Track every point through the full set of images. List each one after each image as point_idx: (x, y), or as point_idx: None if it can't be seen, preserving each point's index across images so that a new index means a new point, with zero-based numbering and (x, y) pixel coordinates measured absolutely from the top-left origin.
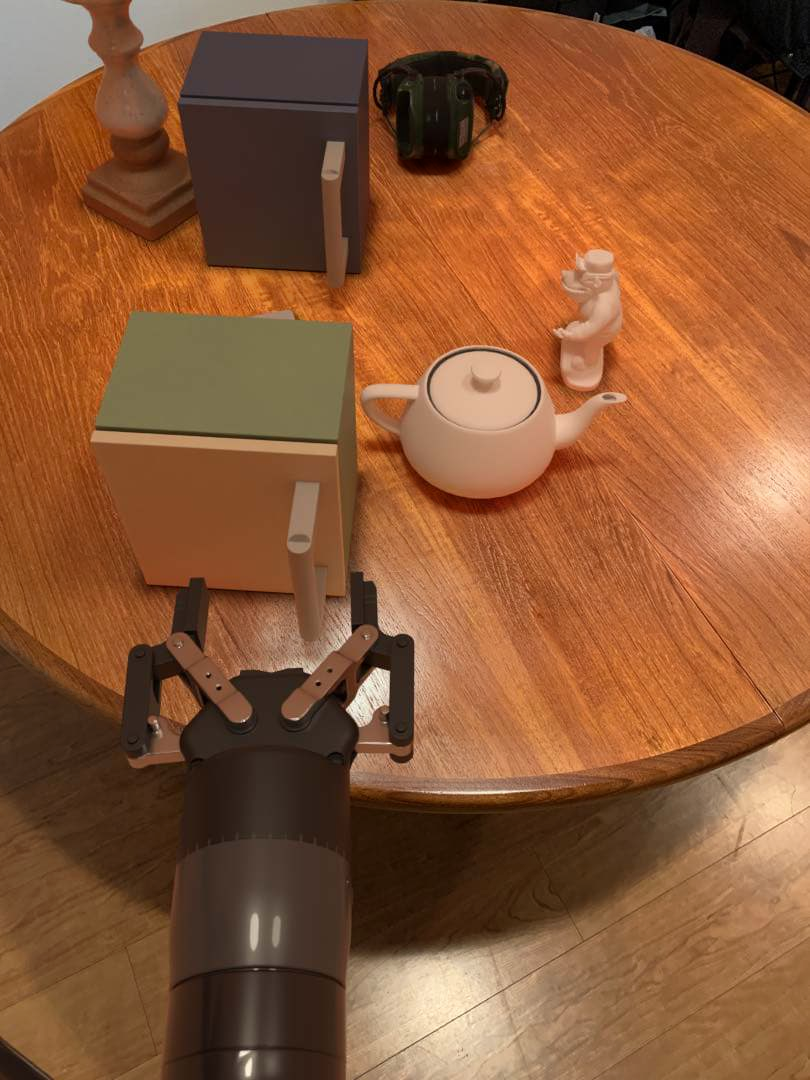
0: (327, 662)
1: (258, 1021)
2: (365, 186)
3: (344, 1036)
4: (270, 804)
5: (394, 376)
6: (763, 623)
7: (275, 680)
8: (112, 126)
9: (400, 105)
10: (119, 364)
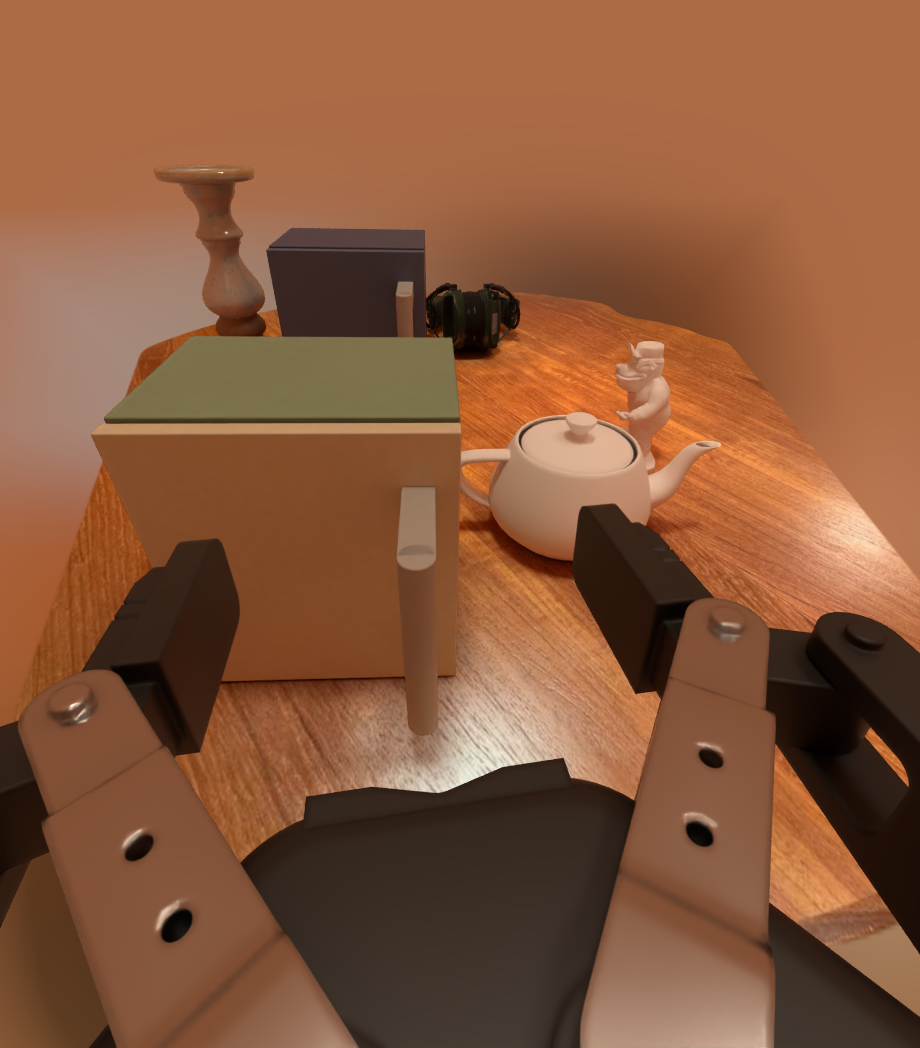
0: (681, 722)
1: None
2: None
3: None
4: None
5: (469, 473)
6: None
7: (467, 831)
8: (215, 303)
9: (445, 307)
10: (162, 369)
